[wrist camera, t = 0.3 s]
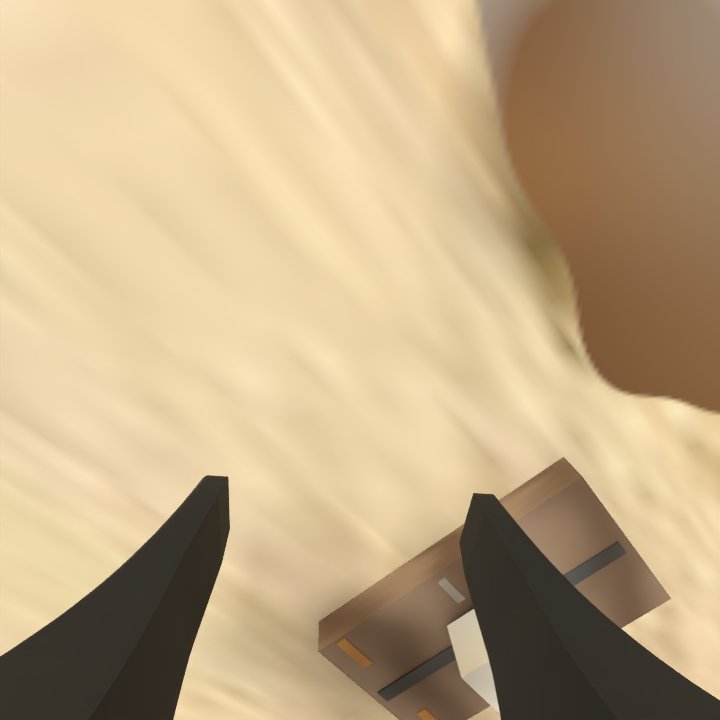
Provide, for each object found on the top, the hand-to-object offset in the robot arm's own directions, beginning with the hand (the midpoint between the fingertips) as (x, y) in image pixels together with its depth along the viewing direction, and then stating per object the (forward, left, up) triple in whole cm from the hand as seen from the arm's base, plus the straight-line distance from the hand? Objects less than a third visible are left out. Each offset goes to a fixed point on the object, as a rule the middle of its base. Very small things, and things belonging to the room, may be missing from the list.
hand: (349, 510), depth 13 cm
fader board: (-2, -17, -11) cm, 20 cm away
